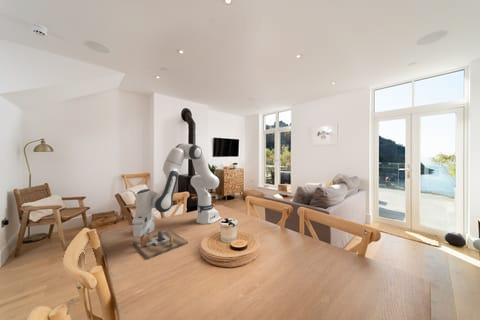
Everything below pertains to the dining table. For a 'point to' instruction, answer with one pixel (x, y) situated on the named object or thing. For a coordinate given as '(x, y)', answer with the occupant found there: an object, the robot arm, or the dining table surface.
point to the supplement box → (151, 225)
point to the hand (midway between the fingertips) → (143, 238)
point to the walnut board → (165, 247)
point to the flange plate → (153, 241)
